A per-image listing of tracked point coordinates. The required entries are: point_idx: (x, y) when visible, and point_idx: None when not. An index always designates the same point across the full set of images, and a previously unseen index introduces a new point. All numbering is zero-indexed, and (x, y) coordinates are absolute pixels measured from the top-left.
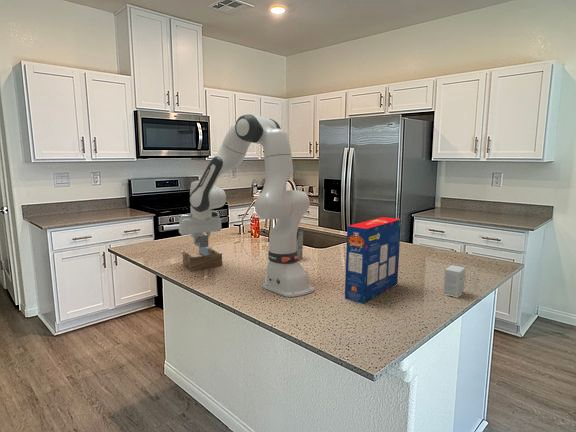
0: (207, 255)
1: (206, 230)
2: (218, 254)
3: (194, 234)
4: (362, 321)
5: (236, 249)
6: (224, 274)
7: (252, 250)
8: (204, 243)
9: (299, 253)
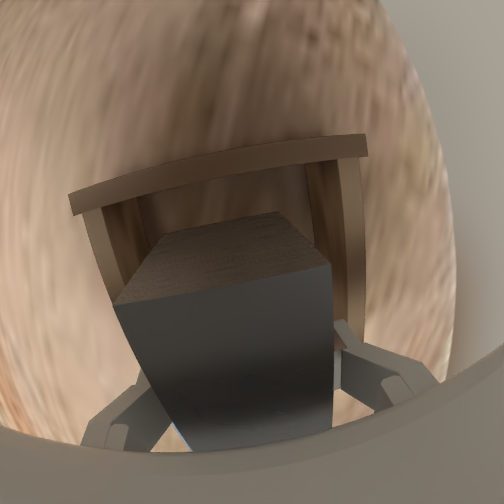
0: (196, 176)
1: (133, 486)
2: (95, 184)
3: (401, 395)
4: None
5: (66, 420)
6: (142, 17)
7: (11, 383)
8: (215, 235)
9: None
